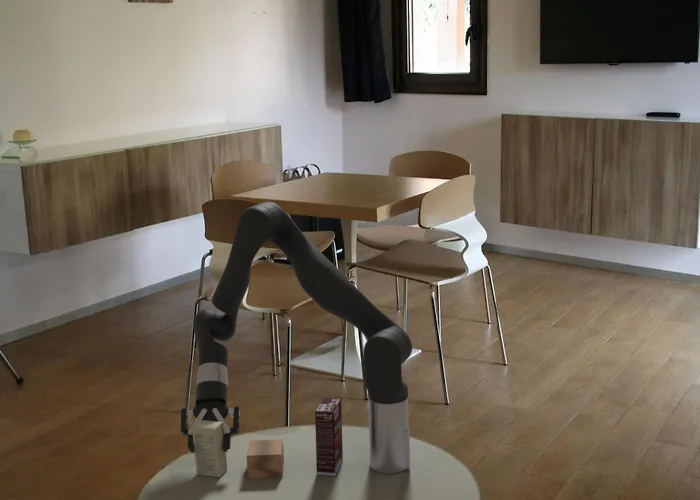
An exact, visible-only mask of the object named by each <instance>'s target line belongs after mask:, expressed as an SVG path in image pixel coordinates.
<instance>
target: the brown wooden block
mask: <svg viewBox="0 0 700 500" xmlns="http://www.w3.org/2000/svg"><path fill="white" fill-rule="evenodd" d="M284 457H285V455H284V439H283V438H281V439H258V440H255V439H253V440H249V441H248V446H247V452H246V470H247V471H246V472H247V480H255V479H256V480H258V479H259V480H260V479H276V478H277V479H278V478H279V479H281V478H284V477H283V476H284V464H285V458H284Z"/></svg>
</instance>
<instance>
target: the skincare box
mask: <svg viewBox="0 0 700 500" xmlns="http://www.w3.org/2000/svg"><path fill="white" fill-rule="evenodd" d="M192 425H193V424H192ZM191 427H192V432H193V442H194V453H193V454H194V461H195V469H196V470H195V471H196V475H199V476H203V477H205V476H206V477H214V478H221V476H222V475H224V474H225V472H226V471H227V470H228V462H227V452H224V434H225V433H224V427H223V422H218V421H207V420H201V421H199V422H197V423H196V424H195V425H193V426H191Z"/></svg>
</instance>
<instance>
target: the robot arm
mask: <svg viewBox="0 0 700 500" xmlns="http://www.w3.org/2000/svg"><path fill="white" fill-rule="evenodd" d="M269 242H271V243H272V244H274V245H275V246H276V247H277V248H278V249H279V250H280V251H281V252H282V253H283V254H284V255H285V256H286V258H287V259H288V260H289V262H290V263H291V266H292V268H293V270H294V274H295V276H296V278H297V281H298V283H299V285H300V287H301V288H302V289H303V291H304V292H305V293H306V294H307V295H308V296H309V297H310V298H311V299H312V300H313V301H314V302H315V303H316V304H317V305H318V306H319V307H320V308H321V309H323V310H324V311H326V312H328V313H329V314H331V315H333V316H335V317H337V318H339V319H341V320H343V321H345V322H347V323H349V324H350V325H352V326H354V327H355V328H356V329H357V330H358V331H360V332H361V334H362V335H363V336H364V337H365V338H367V341H366V342H365V344H364V347H363V354H362V355H363V357H362V360H363V376H364V377H363V378H364V385H365V388H366V390H367V392H368V393H367V394H368V396H367V397H368V398H367V399H368V435H369V436H368V441H369V466H370V468H371V469H372V470H373V471H375V472H377V473H380V474H387V475H388V474H389V475H390V474H397V473H402V472H403V471H409V470H411V447H410V445H411V443H410V440H411V439H410V438H411V437H410V436H411V435H410V433H411V432H410V429H409V389H408V387H409V386H408V384H407V383H406V382H404V381H403V375H402V372H403V371H402V370H403V369H402V365H403V364H404V363H405V362H406V361H407V360H408V359H409V358H410V356H411V355H412V352H413V344H412V341H411V338H410V336H409V335H408V333H407V332H406V331H405V330H404V329H403V328H402V327H400V325H398V323H396V322H395V321H393V320H392V319H391V318H390V317H389V316H387V315H386V314H384V312H382V311H381V310H380V309H379V308H378V307H376V306H375V305H374V304H373V303H372V302H371V301H370V300H369V299H368V297H366V295H364V293H362V291H360V289H359V288H357V287H356V286H355V285H354V284H353V283H352V282H351V281H350V280H349V279H348V277H347V276H346V275H344V273H343V272H342V271H341V270H340V268H338V267H337V266H336V265H335V264H334V263H332V261H331V260H329V259H328V258H327V256H325V255H324V254H323V253H322V251H320V249H319V248H317V246H315V245H314V243H312V242H311V240H310V239H308V238H307V236H306V235H305V234H304V232H302V230H301V229H300V228H299V226H297V224H296V223H295V221H294V220H293V219H292V218H291V217H290V216H289V214H288V213H287V211H285V209H283V207H281V206H280V205H279V204H277V203H275V202H272V201H264V202H263V201H262V202H260V203H258V204H254V205H252V206H250V207H247V208H246V209H245V210H243V211H242V213H241V215H240V216H239V219H238V221H237V225H236V228H235V234H234V238H233V242H232V244H231V245H232V246H231V249H230V252H229V254H228V259H227V263H226V265H225V268H224V270H223V273H222V275H221V276H220V277H221V278H220V279H219V282H218V284H217V286H216V288H215V291H214V293H213V295H212V298H211V302H212V304H213V306H214V307H215V309H217V310H219V311H217V310H216V311H215V310H211V309H208V308H207V309H205V308H204V309H201V310H199V311H198V312H197V313H196V315H195V317H194V319H193V332H194V337H195V340H196V344H197V349H198V369H197V373H196V374H197V375H196V386H195V402H194V403H195V404H194V406H193V409H186V407H185V408H182V409H181V411H180V432H181V435H182V436H183V437H187V449H188V452H190V453H191V454H195V453H194V442H193V432H192V426H193V425H195V424H196V423H197V422H199V421H201V420H207V421H218V422H223V427H224V452H226V453H228V452H229V451H228V450H230V449H231V444H232V442H231V441H232V440H231V439H232V436H233V435H238V434H240V423H241V422H240V421H241V410H240V408H239V406H235V407H232V408H230V407H228V390H229V388H228V387H229V374H228V361H229V359H228V358H229V352H228V348H227V347H226V346H225V345H224V344H221V343H219V342H217V341H221V342H227V341H230V340H231V339H232V338H233V337H234V335H235V332H236V328H237V321H238V313H239V309H240V306H241V303H242V302H243V299H244V297H245V296H246V294H247V293H246V292H247V291H248V288H249V284H250V280H251V271H252V264H253V262H254V259H255V257H256V255H257V253H258V252H259V251H260V249H261V248H262V246H264V244H266V243H269ZM228 414H229V415H230V416H231V418H232V419H233V420H232V421H233V423H232V427H229V426H228V425H227V422H226V421H225V419H226V418H227V416H229V415H228ZM192 416H194V417H195V420H193V423H192V426H191V427H190V428H189V429H188V427H189V426H188V425H189V422H188V421H189V420H190V419H191V417H192Z"/></svg>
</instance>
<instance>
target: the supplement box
mask: <svg viewBox="0 0 700 500" xmlns="http://www.w3.org/2000/svg"><path fill="white" fill-rule="evenodd" d="M342 413H343V412H342V398H332V397H323V398H322V400H321V402H320V404H319V405H318V407H317V408H316V410H315V411H314V415H315V417H314V419H315V420H314V421H315V422H314V423H315V452H316V453H315V455H316V456H315V457H316V460H315V461H316V465H315V466H316V468H315V469H316V475H318V476H327V477H328V476H329V477H336V476H337V473H338V471H339V468H340V466H341V464H342V463H343V461H344V459H343V458H344V457H343V454H344V453H343V419H342Z"/></svg>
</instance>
